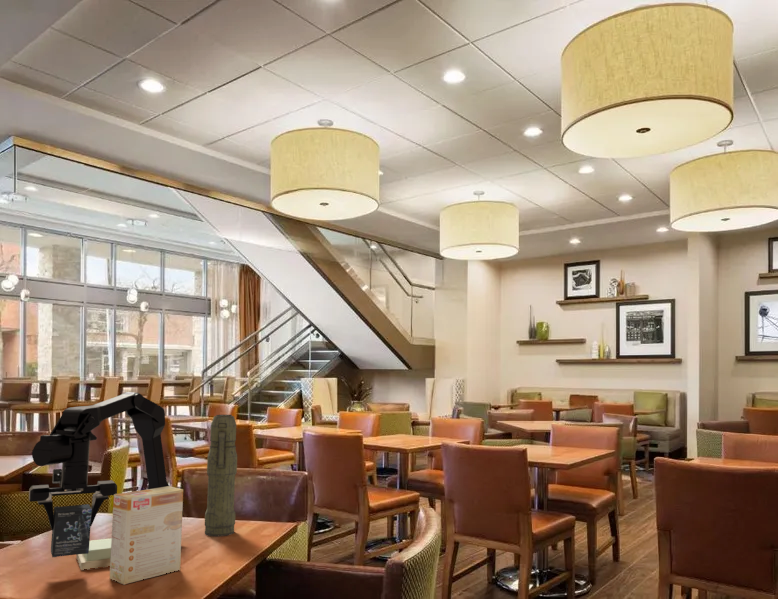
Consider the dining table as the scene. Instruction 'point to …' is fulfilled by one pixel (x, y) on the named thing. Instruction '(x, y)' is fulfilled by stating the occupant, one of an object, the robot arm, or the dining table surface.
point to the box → (71, 530)
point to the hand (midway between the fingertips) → (71, 527)
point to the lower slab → (91, 562)
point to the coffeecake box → (146, 534)
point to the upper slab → (99, 550)
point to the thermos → (221, 477)
